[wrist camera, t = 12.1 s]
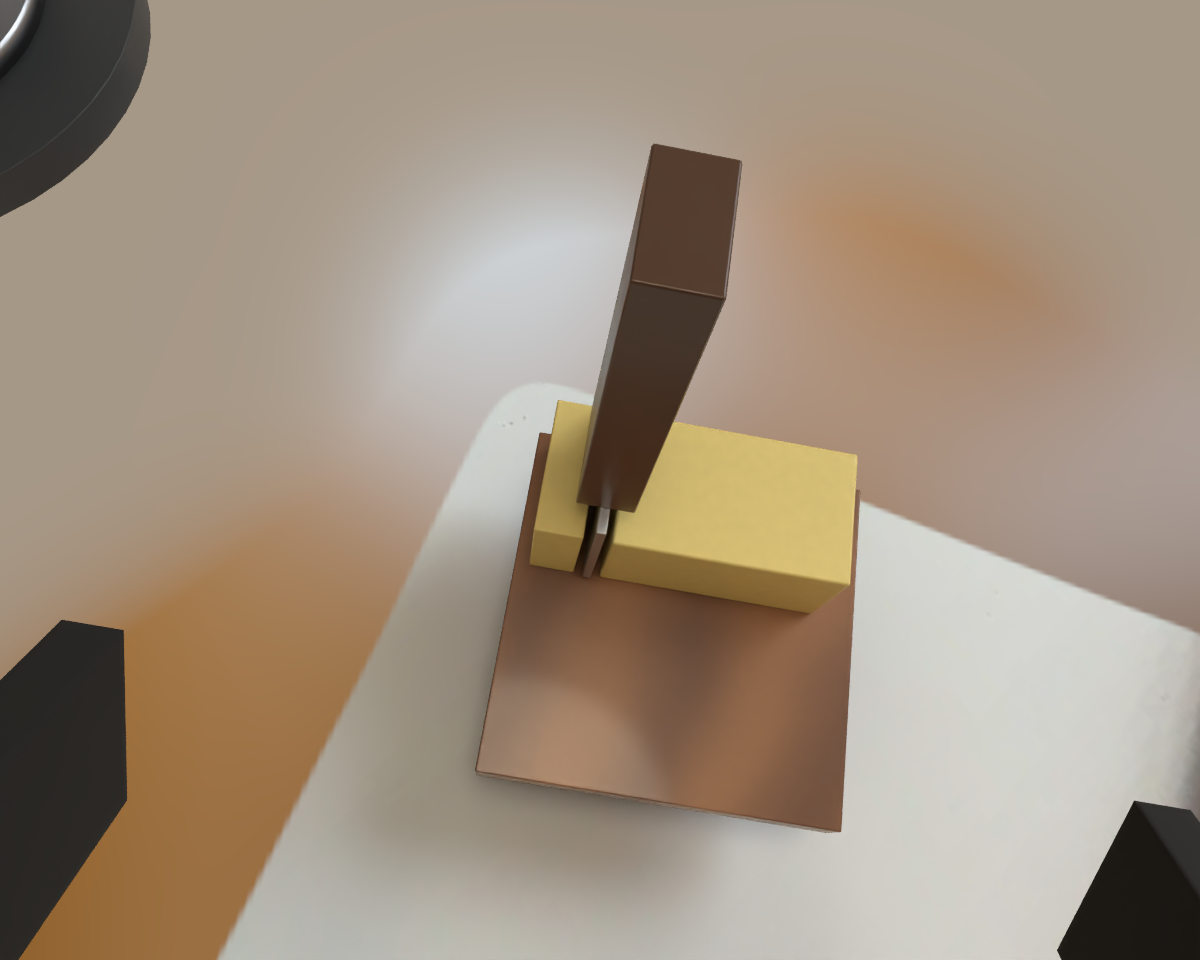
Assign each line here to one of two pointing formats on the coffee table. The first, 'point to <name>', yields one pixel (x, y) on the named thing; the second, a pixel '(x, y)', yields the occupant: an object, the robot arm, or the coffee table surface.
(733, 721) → the board
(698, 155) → the knife
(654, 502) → the butter
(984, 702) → the coffee table surface
